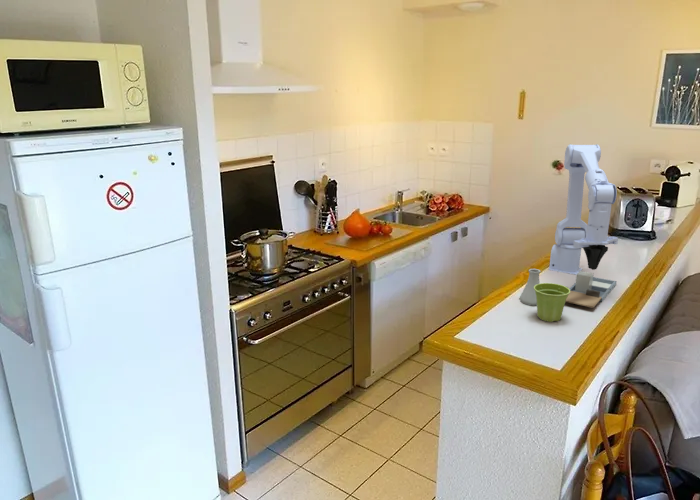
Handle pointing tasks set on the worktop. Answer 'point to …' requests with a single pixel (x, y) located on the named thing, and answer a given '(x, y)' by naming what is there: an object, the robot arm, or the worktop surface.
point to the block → (584, 281)
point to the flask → (530, 288)
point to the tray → (600, 287)
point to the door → (584, 298)
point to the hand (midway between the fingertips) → (592, 268)
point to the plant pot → (550, 300)
